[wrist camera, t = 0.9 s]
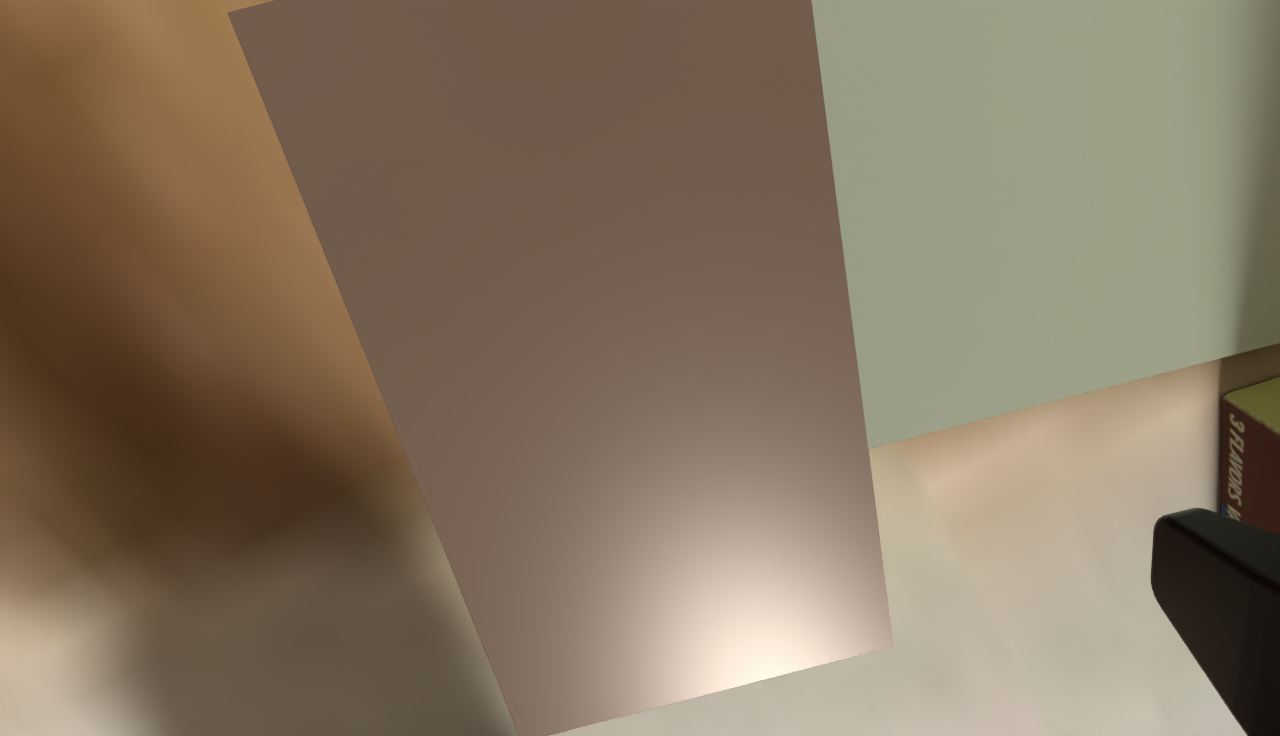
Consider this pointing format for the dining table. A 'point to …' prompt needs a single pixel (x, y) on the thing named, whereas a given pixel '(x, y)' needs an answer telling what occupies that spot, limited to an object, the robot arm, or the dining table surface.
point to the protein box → (1252, 455)
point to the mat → (1049, 195)
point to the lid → (599, 325)
